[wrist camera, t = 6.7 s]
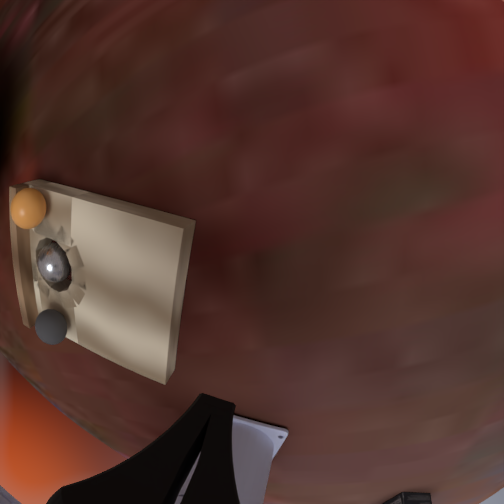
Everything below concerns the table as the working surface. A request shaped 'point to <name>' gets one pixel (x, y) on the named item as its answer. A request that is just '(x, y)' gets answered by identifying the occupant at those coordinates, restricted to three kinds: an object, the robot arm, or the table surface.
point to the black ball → (51, 326)
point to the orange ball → (28, 208)
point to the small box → (410, 498)
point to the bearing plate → (108, 275)
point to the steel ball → (53, 263)
